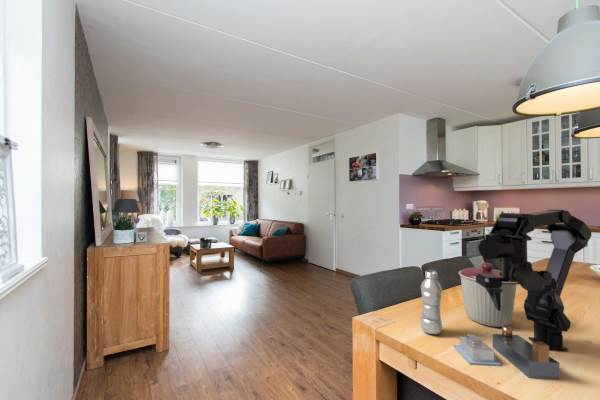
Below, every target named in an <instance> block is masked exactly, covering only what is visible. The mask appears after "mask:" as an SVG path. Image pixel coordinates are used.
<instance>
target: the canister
mask: <svg viewBox="0 0 600 400" xmlns="http://www.w3.org/2000/svg"><path fill="white" fill-rule="evenodd" d="M500 272H502V270H500V269H499V270H498V269H495V268H494V265H493V264H492V263H490V262H483V263H481V265H480V267H466V268H463V269H461V270H459V271H458V275H459V276H460V283H461V291H462V298H463V299H462V300H463V305H464V310H465V314H466V315H467V317H468V318H469V319H470V320H472V321H474V322H475V323H478V324H481V325H484V326H488V327H494V328H502V326H503V325H506V326H509V325H510V323H511V321H512V318H513V312H514V306H515V299H516V292H517V285H518V284H502V286H501V287H500V289H502V290H503V291H502V292H501V294H500V298H501V310H500V311H498V310H497V309H496V307H495V305H494V303H493V301H492V299H491V297H490V295H489V293H488V292H487V290H486V288H485V287H483V286H481V285H480V284H478V283H476V276H477V275H478V274H492V275H494V276H497V277H503V276H501V275H500ZM508 281H511V280H508Z"/></svg>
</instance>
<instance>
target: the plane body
mask: <svg viewBox="0 0 600 400" xmlns="http://www.w3.org/2000/svg"><path fill="white" fill-rule="evenodd" d="M501 330H502V331H501V333H492V349H493V350H494V351H496V352H498V354H500V355H501V356H502V357H504V358H505V359H506V360H507V361H508V362H509V363H511V364H512V365H513V366H514V367H515V368H516V369H517V370H519V371H520V372H522V373H523V374H524V375H525V376H526V377H527V378H529V379H546V380H547V379H548V380H560V362H558V361H557V360H556V359H554V358H553V357H552V356H550V350H549V345H547V344H545V343H544V342H539V341H531V342H529V341H527V340H526V339H524V338H523V337H521V336H520V335H519V334H513V327H512V326H509V325H507V326H506V325H503V326H502V327H501Z"/></svg>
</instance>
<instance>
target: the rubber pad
mask: <svg viewBox="0 0 600 400" xmlns="http://www.w3.org/2000/svg"><path fill="white" fill-rule="evenodd" d="M452 347H453V348H454V349H455V350H456V352H458V354H459V355H461V357H462V358H463V359H464V360H465V361H466V362H467V363H468V364H469V365H477V366H497V367H502V363H500V361H499V360H497V359H496V358H495V357H494V362H483V361H472V360H471V359H470V358H469V356H468V355H467V354H466V353H465V352H464V351H463V350H462V349H461V348H460V344H457V345H456V344H453V345H452Z"/></svg>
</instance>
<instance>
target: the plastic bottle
mask: <svg viewBox="0 0 600 400" xmlns="http://www.w3.org/2000/svg"><path fill="white" fill-rule="evenodd" d="M424 273H425V275H424V277H425V279H424V280H422V282H421V284H420V290H421V302H422V310H421V311H422V312H421V316H420V317H421V318H420V327H421V329H422V332H423V331H424V333H427V334H428V335H440V333H441V332H442V329H443V323H442V318H441V301H442V294H443V288H442V285H441V283H440V282H439V280H438V278H439V277H438V272H437V271H436V270H430V269H429V270H427V269H426V270H425V271H424Z"/></svg>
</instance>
